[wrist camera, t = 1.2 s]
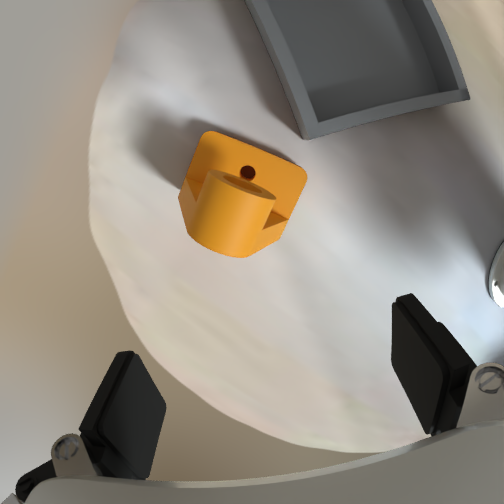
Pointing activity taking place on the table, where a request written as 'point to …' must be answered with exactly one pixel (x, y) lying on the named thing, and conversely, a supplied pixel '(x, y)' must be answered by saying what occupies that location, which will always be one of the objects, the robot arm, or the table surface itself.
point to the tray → (358, 59)
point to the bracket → (237, 196)
